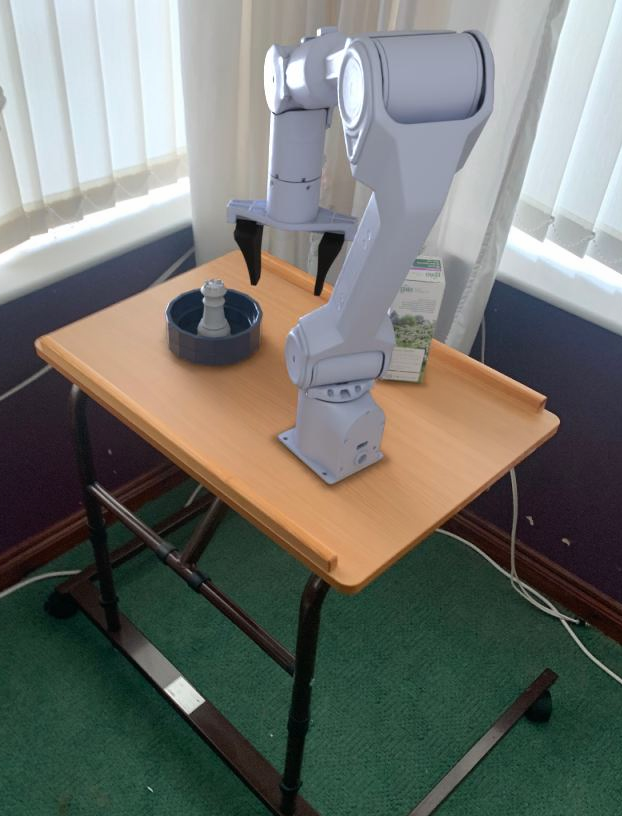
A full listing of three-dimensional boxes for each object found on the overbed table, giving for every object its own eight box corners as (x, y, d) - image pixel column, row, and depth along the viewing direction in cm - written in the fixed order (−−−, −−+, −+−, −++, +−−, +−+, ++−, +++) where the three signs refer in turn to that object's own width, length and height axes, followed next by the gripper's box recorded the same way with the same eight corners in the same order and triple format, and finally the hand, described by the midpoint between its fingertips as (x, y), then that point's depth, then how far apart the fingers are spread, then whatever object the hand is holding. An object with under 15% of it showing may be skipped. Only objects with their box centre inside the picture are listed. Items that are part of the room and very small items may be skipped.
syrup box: (419, 358, 102) (442, 253, 92) (422, 385, 98) (447, 280, 88) (375, 354, 103) (393, 250, 92) (376, 382, 99) (395, 276, 88)
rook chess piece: (214, 324, 106) (214, 270, 100) (238, 338, 103) (239, 283, 98) (189, 338, 103) (188, 282, 98) (213, 352, 101) (213, 296, 95)
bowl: (279, 349, 103) (281, 319, 100) (200, 381, 98) (200, 350, 95) (225, 307, 110) (226, 278, 107) (149, 334, 105) (147, 304, 101)
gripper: (368, 165, 86) (352, 279, 95) (239, 148, 88) (237, 261, 98) (357, 193, 81) (342, 309, 91) (221, 173, 83) (220, 289, 93)
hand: (286, 286), depth 94 cm, fingers open, 7 cm apart
